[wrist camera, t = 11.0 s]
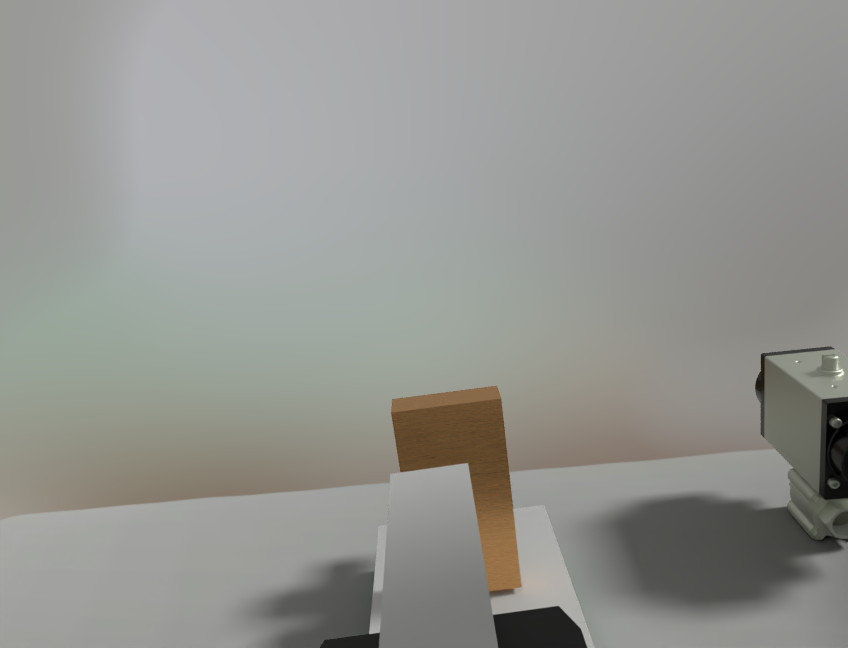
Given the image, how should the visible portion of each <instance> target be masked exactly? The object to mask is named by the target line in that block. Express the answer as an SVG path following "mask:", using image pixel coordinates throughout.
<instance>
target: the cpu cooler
mask: <svg viewBox="0 0 848 648" xmlns="http://www.w3.org/2000/svg"><path fill="white" fill-rule="evenodd" d="M513 512H514V521H515V531H516V540H517V549H518V558H519V567H520V576H521V586H522V587H520V588H512V589H504V590H496V591H489V595H490V601H491V607H492V613H493V615H495V614H502V613H510V612H517V611H524V610H532V609H539V608H546V607H554V606H559V607H560V608H561V609H562V610H563V611H564V612H565V613H566V614H567V615H568V616H569V617H570V618H571V619H572V620H573V621H574V622H575V623H576V624H577V625H578V626H579V627H580V628H581V630H582V633H583V636H584V639H585V642H586V645H587V648H595V647H594V644H593V642H592V639H591V636H590V633H589V630H588V627H587V625H586V622H585V619H584V616H583V613H582V610H581V608H580V605H579V602H578V599H577V596H576V594H575V591H574V588H573V585H572V582H571V579H570V577H569V574H568V571H567V568H566V565H565V562H564V560H563V557H562V554H561V551H560V548H559V545H558V543H557V540H556V537H555V534H554V531H553V529H552V526H551V523H550V520H549V517H548V514H547V512H546V509H545V506H544V505H541V506H533V507H525V508H517V509H513ZM386 533H387V525H380V526H379V532H378V542H377V553H376V564H375V575H374V586H373V597H372V607H371V618H370V629H369V634H373V633H380V623H381V608H382V593H383V578H384V563H385V548H386Z"/></svg>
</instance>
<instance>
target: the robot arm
mask: <svg viewBox="0 0 848 648" xmlns="http://www.w3.org/2000/svg"><path fill="white" fill-rule="evenodd" d="M320 648H587V645H586V642H585V639H584V636H583V633H582V630H581V628H580V627H579V626H578V625H577V624H576V623H575V622H574V621H573V620H572V619H571V618H570V617H569V616H568V615H567V614H566V613H565V612H564V611H563V610H562V609H561V608H560V607H559V606H554V607H546V608H539V609H532V610H524V611H517V612H510V613H502V614H495V615H493V613H492V607H491V601H490V595H489V588H488V582H487V576H486V570H485V564H484V558H483V552H482V546H481V540H480V533H479V527H478V521H477V515H476V509H475V503H474V497H473V491H472V485H471V479H470V472H469V466H468V463H464V464H457V465H450V466H443V467H436V468H429V469H422V470H415V471H408V472H401V473H395V474H391V475H390V488H389V503H388V518H387V533H386V548H385V563H384V578H383V593H382V608H381V623H380V633H373V634H366V635H359V636H352V637H344V638H337V639H330V640H325V641H324V642H323V644H322V645H321V647H320Z"/></svg>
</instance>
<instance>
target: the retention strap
mask: <svg viewBox="0 0 848 648" xmlns="http://www.w3.org/2000/svg"><path fill="white" fill-rule="evenodd" d="M391 415H392V421H393V427H394V434H395V439H396V447H397V453H398V459H399V466H400V472H408V471H415V470H422V469H429V468H436V467H443V466H450V465H457V464H464V463H468V466H469V472H470V479H471V485H472V491H473V497H474V503H475V509H476V515H477V521H478V527H479V533H480V540H481V546H482V552H483V558H484V564H485V570H486V576H487V582H488V588H489V591H496V590H504V589H512V588H520V587H522V586H521V576H520V567H519V558H518V549H517V540H516V531H515V521H514V512H513V503H512V494H511V485H510V475H509V466H508V457H507V448H506V440H505V430H504V421H503V411H502V402H501V397H500V394H499V391H498V388H497V386H492V387H484V388H477V389H468V390H461V391H453V392H445V393H437V394H430V395H422V396H415V397H407V398H399V399H392V409H391Z"/></svg>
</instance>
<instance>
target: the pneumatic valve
mask: <svg viewBox="0 0 848 648" xmlns="http://www.w3.org/2000/svg"><path fill="white" fill-rule="evenodd" d="M755 389H756V395H757V398H758V400H759V401H760V403H761V435H762V436H763V437H764V438H765V439H766V440H767V441H768V442H769V443H770V444H771V445H772V446H773V447H774V448H775V449H776V450H777V451H778V452H779V453H780V454H781V455H782V456H783V457H784V459H785V460H786V461H787V462H788V463H789V464H790V465H791V466H792V467H793V468H794V469H790V470H789V472H788V479H789V480H790V483H789V485H790V497H791V501H789V503H788V506H787V509H788V511H789V512H790V513H791V514H792V516H793V517H794V518H795V519H796V520H797V522H798V523H799V524H800V525H801V526H802V527H803V529H804V530H805V531H806V532H807V533H808V534H809V536H810V537H811V538H812V539H815V540H821V539H823V538H824V537H825V536H826V535H827V536H834V537H835V538H839V539H848V357H847V356H846V355H844V354H843V353H841V352H839V351H838V350H836V349H834V348H832V347H821V348H812V349H801V350H792V351H782V352H772V353H762V354H761V372H760V373H759V375H758V378H757V380H756V385H755Z"/></svg>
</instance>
